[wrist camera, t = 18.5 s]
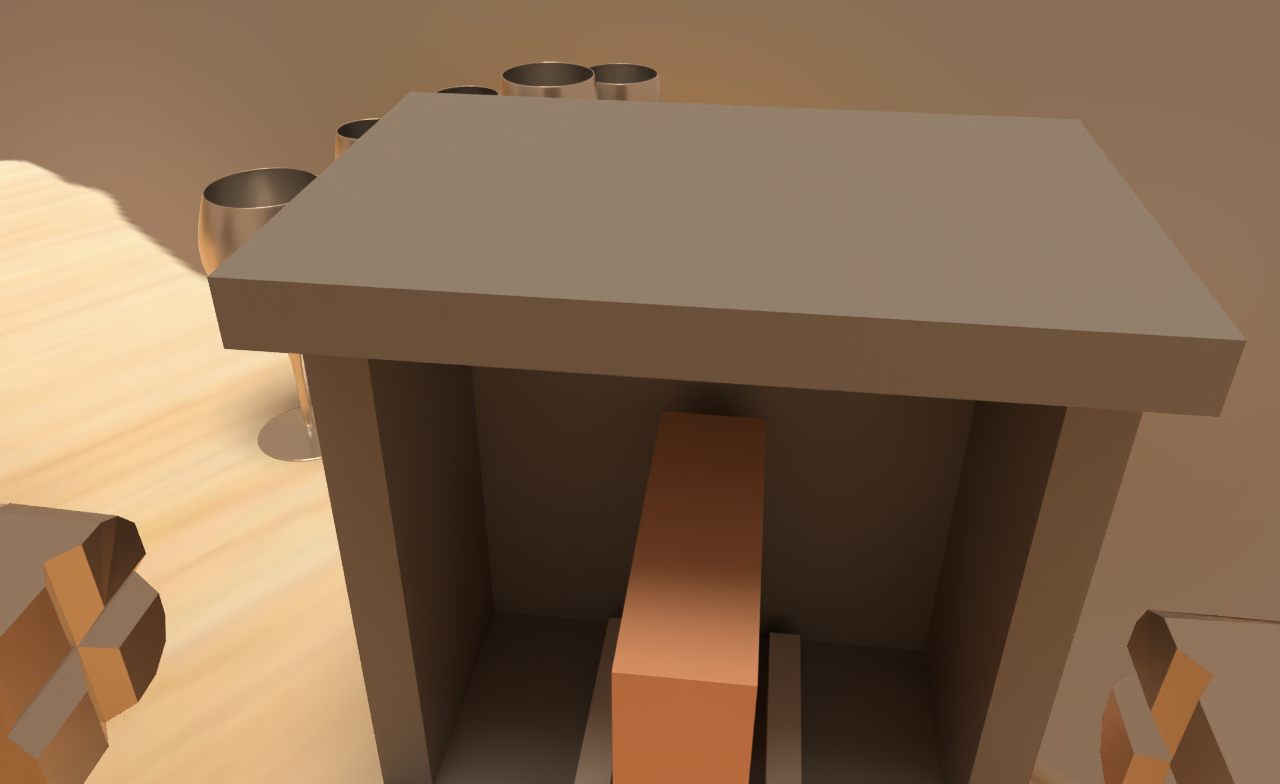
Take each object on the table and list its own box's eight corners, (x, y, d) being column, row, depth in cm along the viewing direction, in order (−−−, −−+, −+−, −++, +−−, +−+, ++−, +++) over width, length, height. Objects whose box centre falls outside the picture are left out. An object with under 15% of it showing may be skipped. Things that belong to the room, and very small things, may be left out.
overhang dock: (1043, 1106, 25) (1324, 444, 15) (311, 1007, 27) (117, 359, 17) (958, 644, 37) (1079, 119, 27) (466, 599, 39) (410, 91, 29)
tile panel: (732, 962, 27) (757, 686, 21) (615, 948, 27) (611, 672, 22) (745, 668, 35) (766, 418, 30) (656, 660, 35) (661, 411, 30)
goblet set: (608, 246, 67) (606, 32, 60) (681, 270, 64) (687, 48, 57) (219, 439, 48) (150, 161, 41) (296, 486, 45) (235, 195, 38)
